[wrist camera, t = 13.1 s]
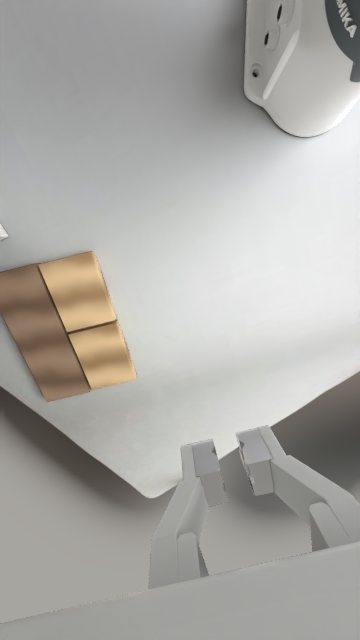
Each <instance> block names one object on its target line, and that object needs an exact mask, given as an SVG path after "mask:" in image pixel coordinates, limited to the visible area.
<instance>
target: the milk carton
mask: <svg viewBox="0 0 360 640" xmlns="http://www.w3.org/2000/svg"><path fill="white" fill-rule="evenodd" d="M7 237H8V235H7V233H6V232H5V230H4V229H3V227H2V225H1V224H0V241H1V240H3V239H5V238H7Z"/></svg>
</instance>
